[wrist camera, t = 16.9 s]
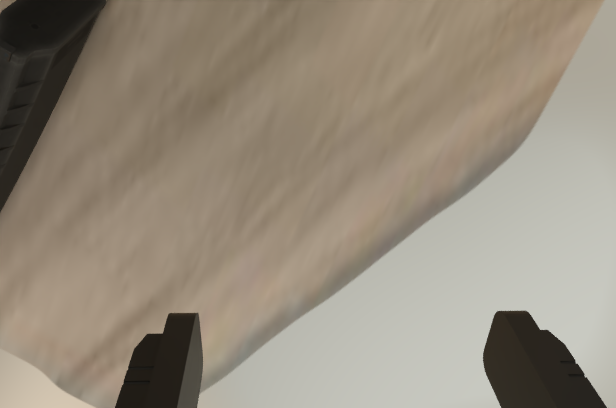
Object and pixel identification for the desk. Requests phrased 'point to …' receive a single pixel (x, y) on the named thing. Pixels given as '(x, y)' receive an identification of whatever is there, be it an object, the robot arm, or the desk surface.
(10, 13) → the black tall piece
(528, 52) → the desk surface
